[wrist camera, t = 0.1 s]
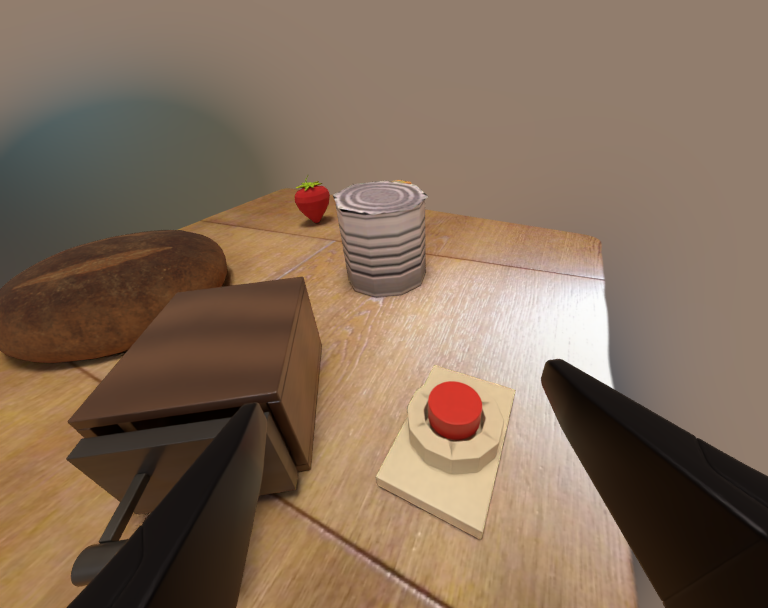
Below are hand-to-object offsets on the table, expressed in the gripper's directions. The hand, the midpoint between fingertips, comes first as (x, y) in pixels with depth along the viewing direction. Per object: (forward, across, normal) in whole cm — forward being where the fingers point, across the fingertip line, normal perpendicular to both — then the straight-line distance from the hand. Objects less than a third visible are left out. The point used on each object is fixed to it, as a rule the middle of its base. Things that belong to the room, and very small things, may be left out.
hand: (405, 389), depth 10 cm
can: (+33, -2, +14) cm, 36 cm away
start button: (+7, -4, +12) cm, 14 cm away
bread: (+35, +35, +14) cm, 51 cm away
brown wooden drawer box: (+13, +12, +14) cm, 23 cm away
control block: (+7, -4, +14) cm, 16 cm away
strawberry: (+60, +10, +14) cm, 62 cm away
